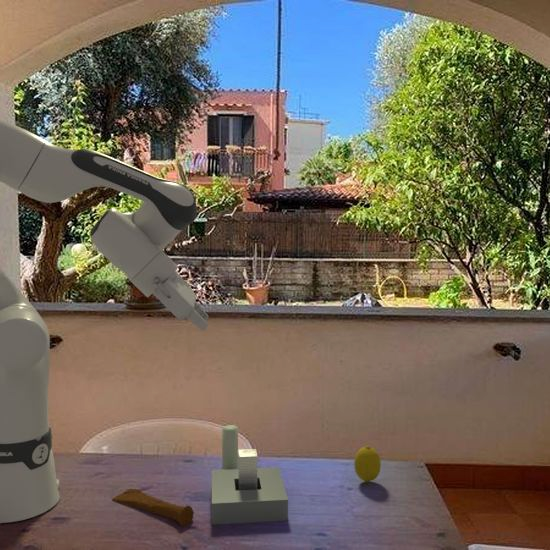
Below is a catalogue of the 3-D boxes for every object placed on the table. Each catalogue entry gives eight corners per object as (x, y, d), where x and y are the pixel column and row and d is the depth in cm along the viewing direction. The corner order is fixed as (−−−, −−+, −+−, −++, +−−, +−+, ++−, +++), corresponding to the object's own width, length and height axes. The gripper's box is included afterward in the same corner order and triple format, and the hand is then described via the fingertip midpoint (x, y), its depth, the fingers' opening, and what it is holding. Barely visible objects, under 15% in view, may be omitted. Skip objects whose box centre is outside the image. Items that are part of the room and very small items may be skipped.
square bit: (239, 506, 105) (239, 456, 104) (238, 498, 108) (238, 449, 107) (257, 505, 105) (257, 456, 104) (255, 497, 109) (255, 449, 108)
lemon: (383, 479, 117) (384, 444, 116) (375, 490, 112) (376, 453, 111) (358, 474, 119) (359, 439, 119) (350, 484, 114) (351, 448, 114)
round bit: (219, 473, 119) (219, 429, 118) (227, 467, 122) (227, 424, 122) (233, 476, 118) (233, 431, 117) (240, 470, 121) (240, 426, 120)
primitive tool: (110, 501, 107) (110, 484, 107) (131, 490, 112) (131, 474, 112) (182, 531, 97) (182, 512, 97) (202, 518, 101) (202, 500, 101)
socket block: (211, 524, 98) (211, 503, 98) (211, 488, 112) (211, 469, 112) (287, 520, 100) (288, 499, 100) (278, 485, 114) (278, 467, 113)
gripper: (164, 268, 99) (217, 320, 101) (172, 262, 119) (216, 306, 121) (139, 293, 99) (193, 344, 101) (151, 282, 119) (196, 326, 121)
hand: (206, 323), depth 111 cm, fingers open, 8 cm apart
